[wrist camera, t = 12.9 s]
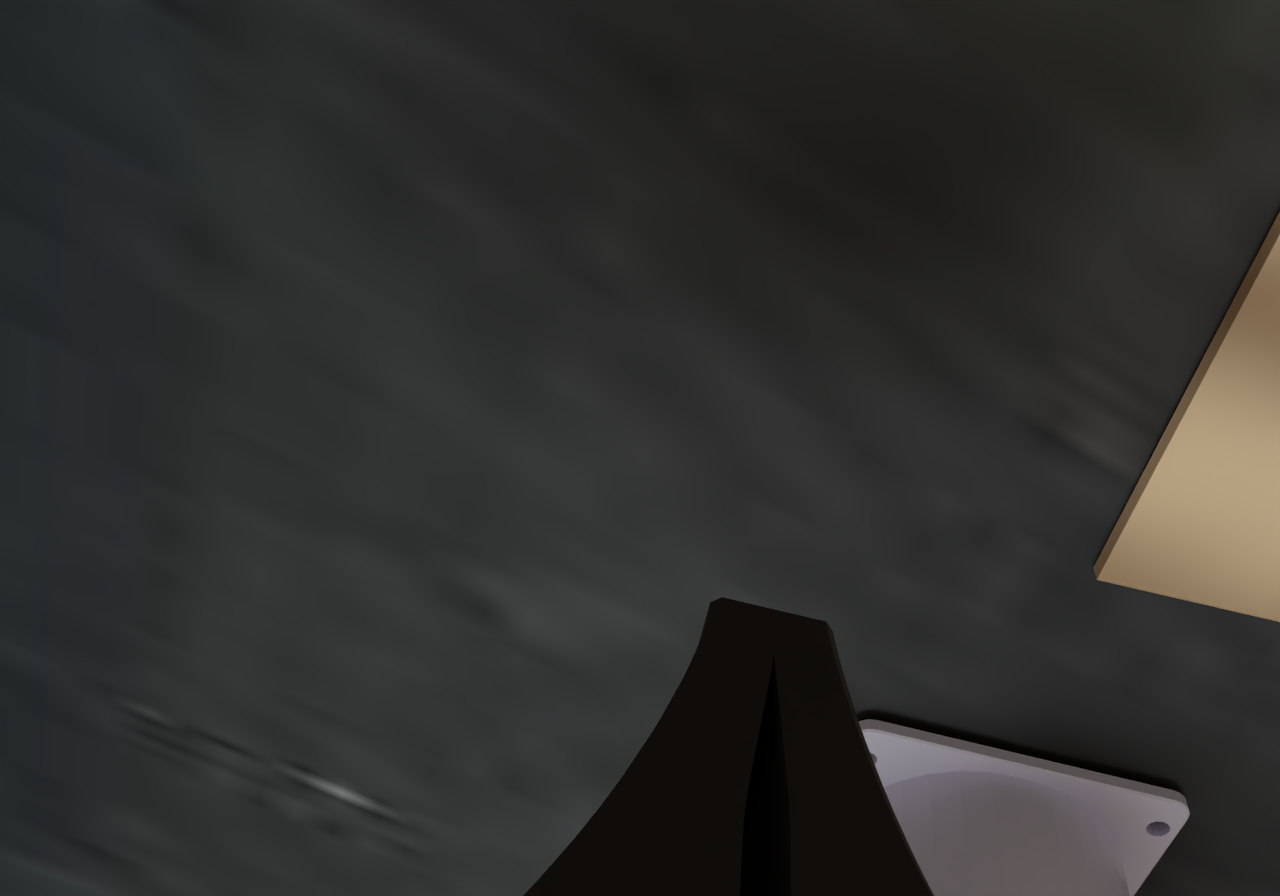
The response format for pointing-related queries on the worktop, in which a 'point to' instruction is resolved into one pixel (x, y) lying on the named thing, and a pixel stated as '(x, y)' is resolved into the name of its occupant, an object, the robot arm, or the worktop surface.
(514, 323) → the worktop surface
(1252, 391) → the board
